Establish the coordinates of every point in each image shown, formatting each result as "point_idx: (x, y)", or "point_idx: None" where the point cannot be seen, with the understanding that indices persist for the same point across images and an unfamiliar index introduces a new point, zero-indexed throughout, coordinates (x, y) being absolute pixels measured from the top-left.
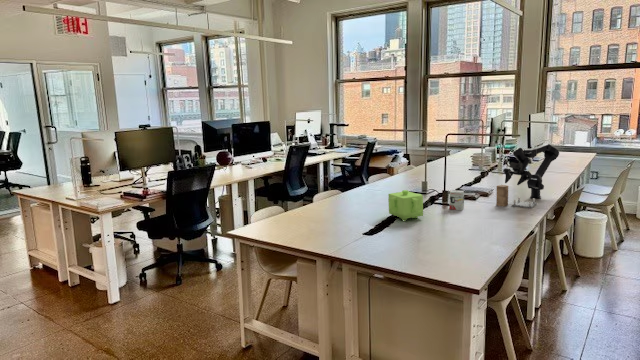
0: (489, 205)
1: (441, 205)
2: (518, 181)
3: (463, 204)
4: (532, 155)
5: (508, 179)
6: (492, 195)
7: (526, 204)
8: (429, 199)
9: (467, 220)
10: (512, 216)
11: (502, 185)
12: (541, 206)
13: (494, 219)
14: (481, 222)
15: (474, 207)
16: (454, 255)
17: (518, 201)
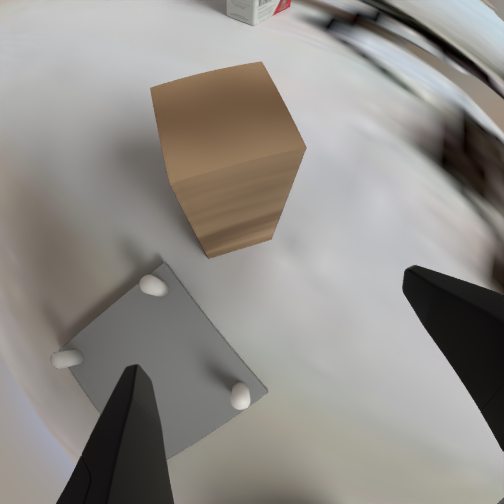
0: None
1: (338, 7)
2: (124, 415)
3: (241, 3)
4: None
5: (466, 362)
6: None
7: None
8: (442, 39)
9: (96, 10)
10: (16, 142)
11: (242, 121)
12: None
13: (41, 71)
14: (53, 36)
15: (251, 59)
16: (3, 8)
17: (236, 383)
